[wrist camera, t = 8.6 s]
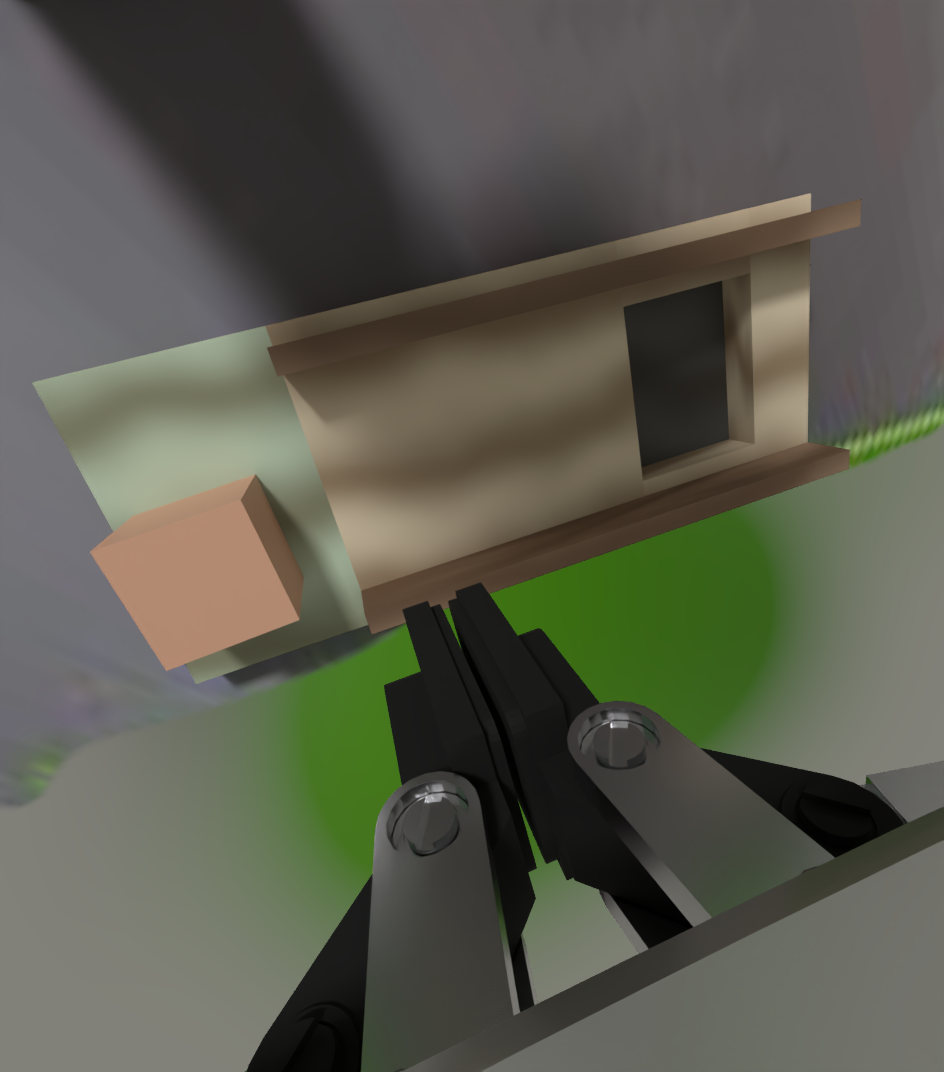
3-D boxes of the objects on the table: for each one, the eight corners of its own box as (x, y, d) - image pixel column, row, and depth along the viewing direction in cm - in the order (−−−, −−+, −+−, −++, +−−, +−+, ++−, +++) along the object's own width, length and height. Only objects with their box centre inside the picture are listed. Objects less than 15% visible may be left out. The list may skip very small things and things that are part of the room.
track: (59, 379, 25) (-9, 386, 20) (775, 205, 31) (862, 176, 26) (205, 659, 31) (182, 718, 26) (777, 466, 37) (847, 484, 32)
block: (132, 516, 25) (89, 551, 20) (255, 474, 26) (240, 499, 21) (192, 618, 27) (166, 671, 23) (303, 576, 28) (299, 619, 24)
